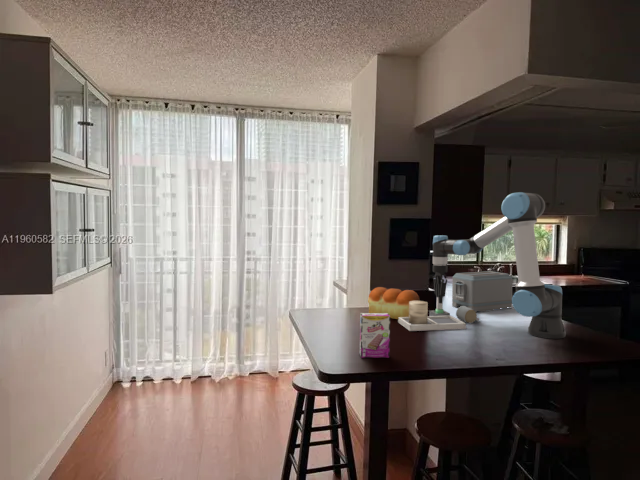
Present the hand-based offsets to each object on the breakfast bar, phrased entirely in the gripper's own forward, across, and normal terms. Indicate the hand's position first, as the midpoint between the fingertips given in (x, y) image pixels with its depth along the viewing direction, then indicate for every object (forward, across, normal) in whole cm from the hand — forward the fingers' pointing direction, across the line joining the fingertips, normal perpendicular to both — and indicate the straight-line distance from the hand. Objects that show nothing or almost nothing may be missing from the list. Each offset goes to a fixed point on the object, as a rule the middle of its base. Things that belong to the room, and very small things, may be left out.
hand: (439, 308), depth 229 cm
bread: (+6, +10, +22) cm, 25 cm away
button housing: (+5, 0, 0) cm, 5 cm away
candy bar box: (+5, -56, +51) cm, 76 cm away
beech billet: (+3, -14, +17) cm, 22 cm away
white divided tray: (+5, -14, +10) cm, 18 cm away
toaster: (+6, +23, -35) cm, 42 cm away
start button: (+4, 0, 0) cm, 4 cm away
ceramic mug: (+5, -8, -12) cm, 16 cm away
